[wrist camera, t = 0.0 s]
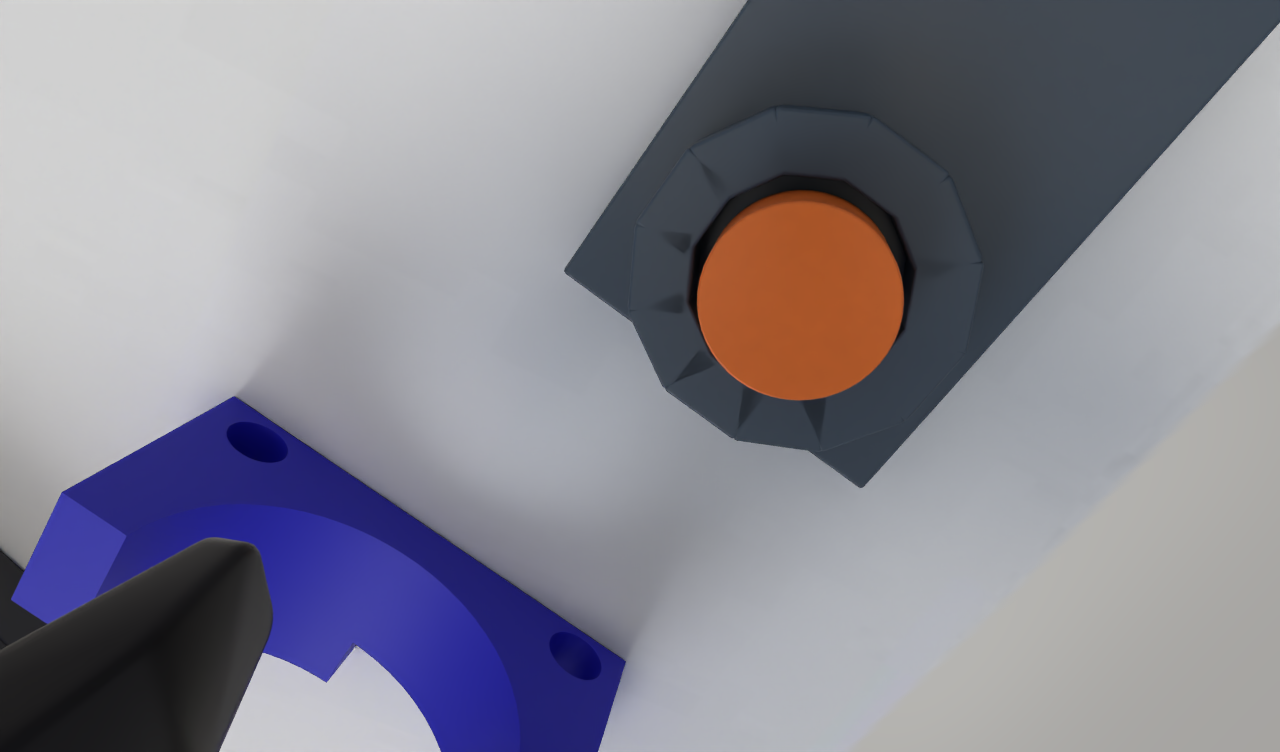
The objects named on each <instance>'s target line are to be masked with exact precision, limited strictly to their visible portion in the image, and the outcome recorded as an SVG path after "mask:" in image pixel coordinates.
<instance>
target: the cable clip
mask: <svg viewBox="0 0 1280 752" xmlns="http://www.w3.org/2000/svg"><path fill="white" fill-rule="evenodd" d="M209 537H219V538H225V539H231V540H238V541H244V542H249V543H251V544H254V545H255V546H256V548H257V549H258V550H259V551H260V554H261V558H262V562H263V566H264V571H265V575H266V580H267V584H268V589H269V593H270V598H271V602H272V607H273V624H272V629H271V633H270V636H269V639H268V641H267V644H266V646H265V648H264V650H263V653H266V654H269V655H272V656H275V657H277V658H280V659H283V660H285V661H288V662H290V663H292V664H294V665H296V666H298V667H301V668H303V669H304V670H306V671H308V672H310V673H312V674H313V675H315V676H317V677H319V678H320V679H322V680H323V681H325V682H327V681H328V680H329V679H330V678H331V676H332V675H333V674H334V673H335V671H336V670H337V669H338V668H339V666H340V665H341V664H342V662H343V661H344V660H345V659H346V657H347V656H348V655H349V654H350V652H351V651H352V650H353V648H354V647H355V645H357V646H358V647H360V648H361V649H363V650H364V651H365V652H366V653H368V654H369V655H370V656H371V657H373V658H374V659H375V660H376V661H378V662H379V663H380V664H381V665H382V666H383V667H384V668H385V669H386V670H387V671H388V672H389V673H391V675H392V676H393V677H394V678H395V679H396V680H397V681H398V682H399V683H400V684H401V685H402V686H403V688H404V689H405V690H406V691H407V693H408V694H409V695H410V697H411V698H412V699H413V700H414V702H415V703H416V705H417V706H418V708H419V709H420V711H421V712H422V714H423V715H424V717H425V719H426V720H427V722H428V724H429V726H430V728H431V730H432V732H433V734H434V736H435V738H436V740H437V743H438V745H439V748H440V750H441V752H598V750H599V747H600V744H601V740H602V737H603V734H604V731H605V727H606V724H607V721H608V718H609V714H610V711H611V708H612V705H613V701H614V698H615V695H616V692H617V688H618V685H619V682H620V679H621V675H622V672H623V669H624V666H625V663H626V661H624V660H623V659H621V658H620V657H618V656H617V655H615V654H614V653H612V652H611V651H610V650H608V649H607V648H605V647H604V646H602V645H601V644H599V643H598V642H596V641H595V640H593V639H592V638H590V637H589V636H587V635H586V634H584V633H583V632H581V631H580V630H579V629H577V628H576V627H574V626H573V625H571V624H570V623H568V622H567V621H565V620H564V619H562V618H561V617H559V616H558V615H556V614H555V613H553V612H552V611H550V610H549V609H548V608H546V607H545V606H543V605H542V604H540V603H539V602H537V601H536V600H534V599H533V598H531V597H530V596H528V595H527V594H525V593H524V592H522V591H521V590H519V589H518V588H517V587H515V586H514V585H512V584H511V583H509V582H508V581H506V580H505V579H503V578H502V577H500V576H499V575H497V574H496V573H494V572H493V571H491V570H490V569H488V568H487V567H485V566H484V565H483V564H481V563H480V562H478V561H477V560H475V559H474V558H472V557H471V556H469V555H468V554H466V553H465V552H463V551H462V550H460V549H459V548H457V547H456V546H454V545H453V544H452V543H450V542H449V541H447V540H446V539H444V538H443V537H441V536H440V535H438V534H437V533H435V532H434V531H432V530H431V529H429V528H428V527H426V526H425V525H423V524H422V523H421V522H419V521H418V520H416V519H415V518H413V517H412V516H410V515H409V514H407V513H406V512H404V511H403V510H401V509H400V508H398V507H397V506H395V505H394V504H392V503H391V502H390V501H388V500H387V499H385V498H384V497H382V496H381V495H379V494H378V493H376V492H375V491H373V490H372V489H370V488H369V487H367V486H366V485H364V484H363V483H361V482H360V481H359V480H357V479H356V478H354V477H353V476H351V475H350V474H348V473H347V472H345V471H344V470H342V469H341V468H339V467H338V466H336V465H335V464H333V463H332V462H330V461H329V460H328V459H326V458H325V457H323V456H322V455H320V454H319V453H317V452H316V451H314V450H313V449H311V448H310V447H308V446H307V445H305V444H304V443H302V442H301V441H299V440H298V439H297V438H295V437H294V436H292V435H291V434H289V433H288V432H286V431H285V430H283V429H282V428H280V427H279V426H277V425H276V424H274V423H273V422H271V421H270V420H268V419H267V418H266V417H264V416H263V415H261V414H260V413H258V412H257V411H255V410H254V409H252V408H251V407H249V406H248V405H246V404H245V403H243V402H242V401H240V400H239V399H237V398H236V397H235V396H234V397H232V398H230V399H228V400H227V401H225V402H223V403H221V404H220V405H218V406H216V407H214V408H212V409H211V410H209V411H207V412H205V413H203V414H202V415H200V416H198V417H196V418H194V419H193V420H191V421H189V422H187V423H185V424H184V425H182V426H180V427H178V428H176V429H175V430H173V431H171V432H169V433H167V434H166V435H164V436H162V437H160V438H158V439H157V440H155V441H153V442H151V443H150V444H148V445H146V446H144V447H142V448H141V449H139V450H137V451H135V452H133V453H132V454H130V455H128V456H126V457H124V458H123V459H121V460H119V461H117V462H115V463H114V464H112V465H110V466H108V467H106V468H105V469H103V470H101V471H99V472H97V473H96V474H94V475H92V476H90V477H89V478H87V479H85V480H83V481H81V482H80V483H78V484H76V485H74V486H72V487H71V488H69V489H67V490H65V491H63V492H62V493H61V495H60V497H59V499H58V502H57V504H56V506H55V508H54V510H53V512H52V514H51V516H50V518H49V520H48V523H47V525H46V527H45V529H44V531H43V533H42V535H41V537H40V539H39V541H38V544H37V546H36V548H35V550H34V552H33V554H32V556H31V558H30V560H29V562H28V565H27V567H26V569H25V571H24V573H23V575H22V577H21V579H20V581H19V583H18V586H17V588H16V590H15V592H14V594H13V596H12V598H11V600H12V601H13V602H15V603H16V604H18V605H19V606H21V607H22V608H24V609H25V610H27V611H28V612H30V613H31V614H33V615H34V616H36V617H38V618H39V619H41V620H42V621H44V622H45V623H47V624H48V623H50V622H52V621H54V620H56V619H58V618H59V617H61V616H63V615H65V614H67V613H69V612H70V611H72V610H74V609H76V608H78V607H80V606H81V605H83V604H85V603H87V602H89V601H91V600H92V599H94V598H96V597H98V596H100V595H101V594H103V593H105V592H107V591H109V590H111V589H112V588H114V587H116V586H118V585H120V584H122V583H123V582H125V581H127V580H129V579H131V578H133V577H134V576H136V575H138V574H140V573H142V572H144V571H145V570H147V569H149V568H151V567H153V566H155V565H156V564H158V563H160V562H162V561H164V560H166V559H167V558H169V557H171V556H173V555H175V554H177V553H178V552H180V551H182V550H184V549H186V548H188V547H189V546H191V545H193V544H195V543H197V542H199V541H201V540H203V539H206V538H209Z"/></svg>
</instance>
